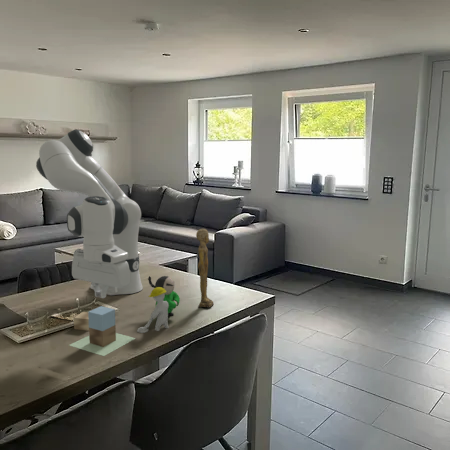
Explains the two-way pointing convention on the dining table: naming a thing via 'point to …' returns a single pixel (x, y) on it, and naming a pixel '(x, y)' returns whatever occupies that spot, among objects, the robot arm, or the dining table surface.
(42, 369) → the dining table surface
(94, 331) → the walnut brick
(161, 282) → the toy
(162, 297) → the figurine
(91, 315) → the blue brick
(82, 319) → the oak brick
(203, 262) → the sculpture
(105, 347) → the plate
